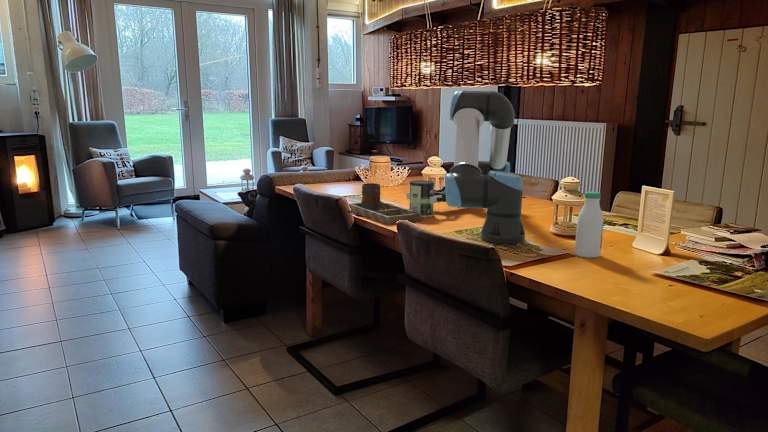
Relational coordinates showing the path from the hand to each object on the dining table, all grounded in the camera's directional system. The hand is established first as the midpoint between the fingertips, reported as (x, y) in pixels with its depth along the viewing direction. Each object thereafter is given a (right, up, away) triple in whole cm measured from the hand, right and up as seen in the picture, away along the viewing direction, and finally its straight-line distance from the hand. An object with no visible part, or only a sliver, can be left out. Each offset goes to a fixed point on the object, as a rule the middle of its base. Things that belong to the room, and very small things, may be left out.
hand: (418, 197), depth 231 cm
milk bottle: (+49, -20, -57) cm, 78 cm away
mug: (-19, -6, +7) cm, 21 cm away
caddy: (-15, -7, 0) cm, 16 cm away
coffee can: (+1, -7, +2) cm, 8 cm away
